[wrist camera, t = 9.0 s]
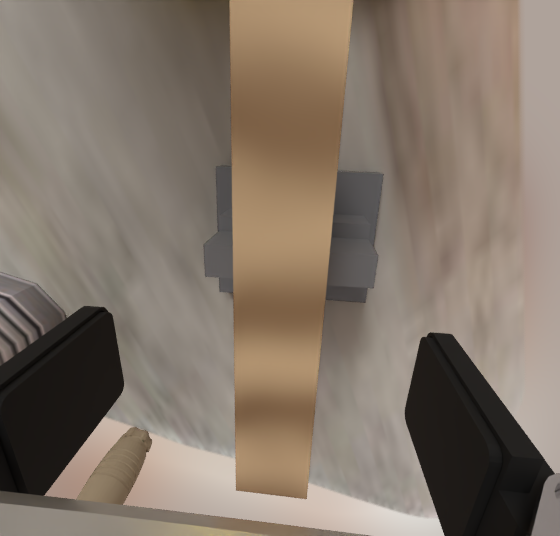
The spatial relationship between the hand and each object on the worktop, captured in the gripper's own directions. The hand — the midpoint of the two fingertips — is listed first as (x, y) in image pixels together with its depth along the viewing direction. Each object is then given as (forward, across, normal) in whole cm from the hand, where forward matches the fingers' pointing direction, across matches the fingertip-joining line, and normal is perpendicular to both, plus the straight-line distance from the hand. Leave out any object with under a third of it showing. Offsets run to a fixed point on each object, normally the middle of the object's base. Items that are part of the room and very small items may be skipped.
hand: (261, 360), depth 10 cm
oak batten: (+10, 0, 0) cm, 10 cm away
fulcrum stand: (+18, 0, +1) cm, 18 cm away
